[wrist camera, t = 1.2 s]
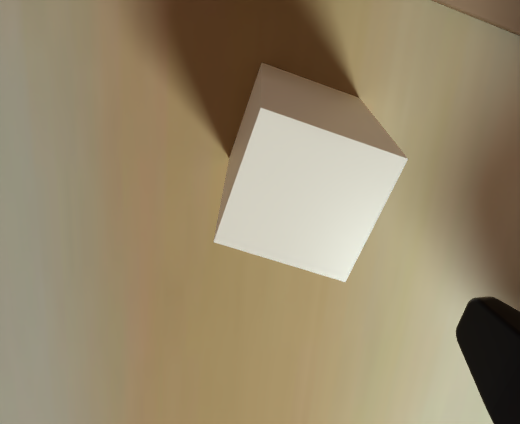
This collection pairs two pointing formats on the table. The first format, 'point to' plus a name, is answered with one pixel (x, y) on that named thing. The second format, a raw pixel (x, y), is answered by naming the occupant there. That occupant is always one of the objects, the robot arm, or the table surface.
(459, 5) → the sorting tray
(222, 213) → the white rectangular block
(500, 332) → the robot arm
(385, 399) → the table surface
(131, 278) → the table surface
